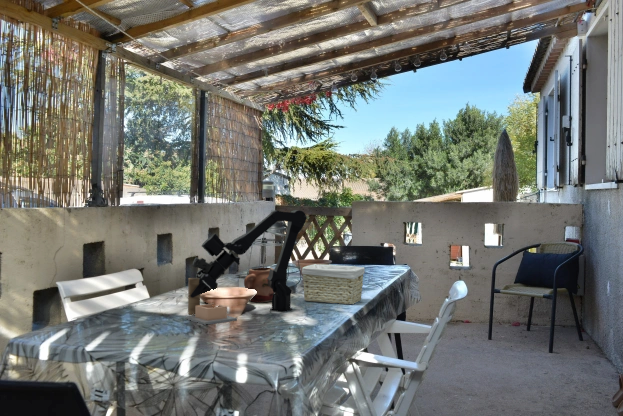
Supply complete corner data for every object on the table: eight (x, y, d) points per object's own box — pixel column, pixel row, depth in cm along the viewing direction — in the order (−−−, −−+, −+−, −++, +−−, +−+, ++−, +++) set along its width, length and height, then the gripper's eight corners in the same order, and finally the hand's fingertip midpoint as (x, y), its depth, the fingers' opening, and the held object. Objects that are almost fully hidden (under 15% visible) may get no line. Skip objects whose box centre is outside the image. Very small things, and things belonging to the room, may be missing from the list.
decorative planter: (259, 306, 241) (259, 271, 241) (233, 303, 247) (234, 269, 246) (284, 299, 258) (284, 267, 258) (260, 297, 264) (260, 265, 264)
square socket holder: (217, 314, 222) (217, 301, 222) (236, 320, 212) (237, 306, 212) (185, 318, 213) (185, 305, 213) (204, 324, 203) (204, 310, 203)
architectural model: (239, 286, 301) (239, 266, 301) (281, 290, 289) (281, 269, 289) (214, 290, 284) (214, 270, 284) (258, 295, 272) (258, 273, 272)
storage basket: (365, 300, 260) (366, 266, 260) (355, 306, 245) (355, 269, 245) (313, 296, 269) (313, 263, 269) (300, 302, 253) (300, 266, 253)
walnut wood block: (198, 312, 226) (199, 277, 226) (199, 314, 222) (200, 279, 222) (187, 312, 225) (188, 277, 225) (188, 314, 221) (189, 279, 221)
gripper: (202, 248, 234) (173, 277, 231) (208, 252, 216) (176, 283, 213) (222, 268, 236) (193, 297, 233) (229, 273, 218) (198, 305, 215)
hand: (190, 295), depth 223 cm, fingers open, 7 cm apart
